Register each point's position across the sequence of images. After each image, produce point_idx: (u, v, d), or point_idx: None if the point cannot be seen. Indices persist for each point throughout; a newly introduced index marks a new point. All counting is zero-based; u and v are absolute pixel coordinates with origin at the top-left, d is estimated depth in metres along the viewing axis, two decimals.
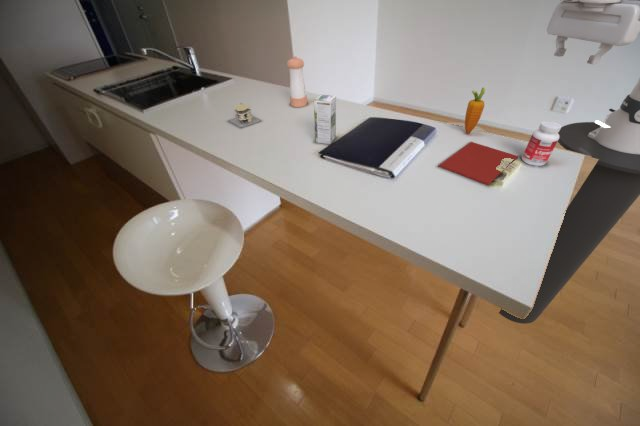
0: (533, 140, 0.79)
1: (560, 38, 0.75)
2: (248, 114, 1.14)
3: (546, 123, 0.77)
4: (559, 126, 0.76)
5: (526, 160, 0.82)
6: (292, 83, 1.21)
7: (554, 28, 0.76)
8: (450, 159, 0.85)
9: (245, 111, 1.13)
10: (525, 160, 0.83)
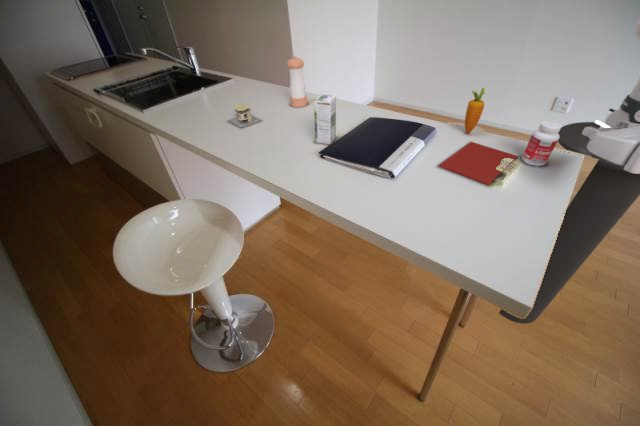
0: (533, 140, 0.79)
1: None
2: (248, 114, 1.14)
3: (546, 123, 0.77)
4: (559, 126, 0.76)
5: (526, 160, 0.82)
6: (292, 83, 1.21)
7: None
8: (450, 159, 0.85)
9: (245, 111, 1.13)
10: (525, 160, 0.83)
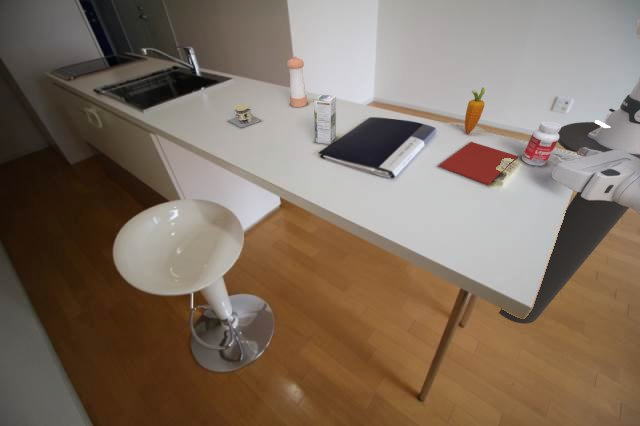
0: (533, 140, 0.79)
1: None
2: (248, 114, 1.14)
3: (546, 123, 0.77)
4: (559, 126, 0.76)
5: (526, 160, 0.82)
6: (292, 83, 1.21)
7: None
8: (450, 159, 0.85)
9: (245, 111, 1.13)
10: (525, 160, 0.83)
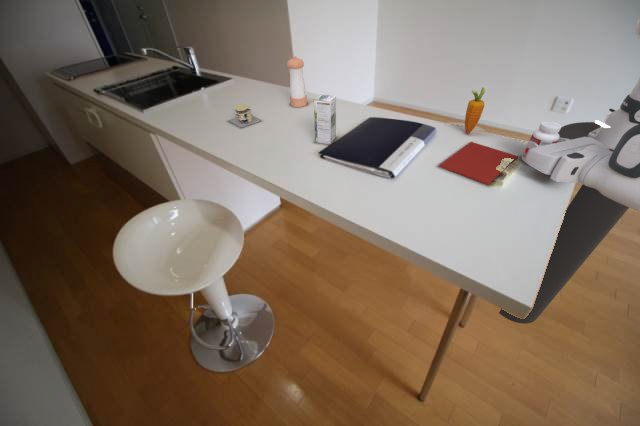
0: (534, 140, 0.79)
1: None
2: (248, 114, 1.14)
3: (546, 123, 0.77)
4: (559, 126, 0.76)
5: None
6: (292, 83, 1.21)
7: None
8: (450, 159, 0.85)
9: (245, 111, 1.13)
10: None
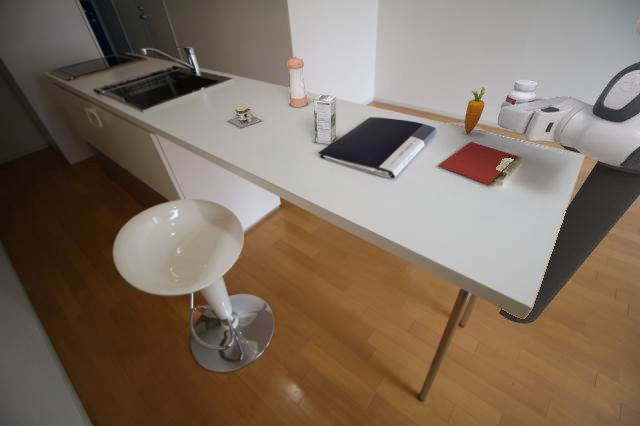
0: (508, 100, 0.72)
1: None
2: (248, 114, 1.14)
3: (522, 81, 0.70)
4: (535, 83, 0.69)
5: None
6: (292, 83, 1.21)
7: None
8: (450, 159, 0.85)
9: (245, 111, 1.13)
10: (500, 124, 0.76)
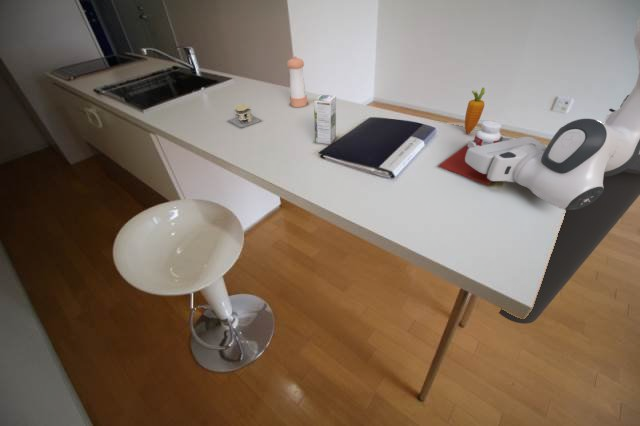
0: (476, 139, 0.79)
1: None
2: (248, 114, 1.14)
3: (488, 123, 0.77)
4: (499, 126, 0.76)
5: None
6: (292, 83, 1.21)
7: None
8: (450, 159, 0.85)
9: (245, 111, 1.13)
10: None
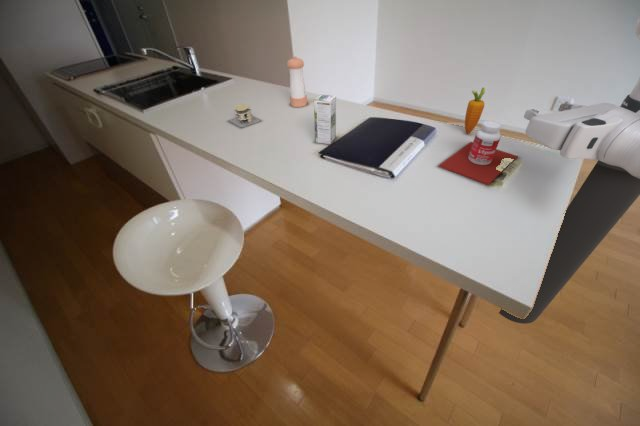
0: (476, 139, 0.79)
1: None
2: (248, 114, 1.14)
3: (488, 123, 0.77)
4: (499, 126, 0.76)
5: (471, 159, 0.83)
6: (292, 83, 1.21)
7: None
8: (450, 159, 0.85)
9: (245, 111, 1.13)
10: (470, 159, 0.83)
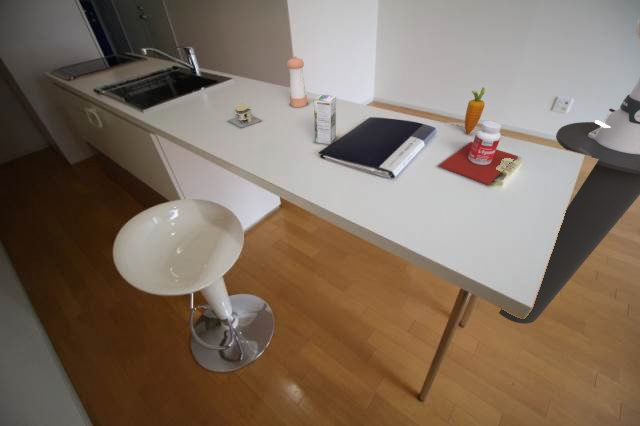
0: (476, 139, 0.79)
1: None
2: (248, 114, 1.14)
3: (488, 123, 0.77)
4: (499, 126, 0.76)
5: (471, 159, 0.83)
6: (292, 83, 1.21)
7: None
8: (450, 159, 0.85)
9: (245, 111, 1.13)
10: (470, 159, 0.83)
